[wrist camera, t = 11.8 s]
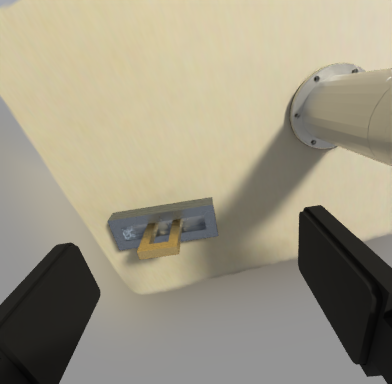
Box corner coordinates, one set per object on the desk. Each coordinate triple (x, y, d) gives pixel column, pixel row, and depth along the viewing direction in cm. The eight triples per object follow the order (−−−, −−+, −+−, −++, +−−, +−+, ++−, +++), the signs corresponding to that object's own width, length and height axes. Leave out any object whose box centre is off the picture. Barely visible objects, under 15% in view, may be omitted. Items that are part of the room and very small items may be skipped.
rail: (211, 197, 42) (212, 204, 39) (216, 227, 45) (218, 236, 42) (113, 212, 43) (107, 221, 41) (124, 240, 46) (119, 250, 43)
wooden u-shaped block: (180, 216, 43) (177, 246, 34) (182, 222, 43) (179, 254, 35) (148, 221, 43) (136, 252, 35) (150, 227, 44) (139, 259, 35)
